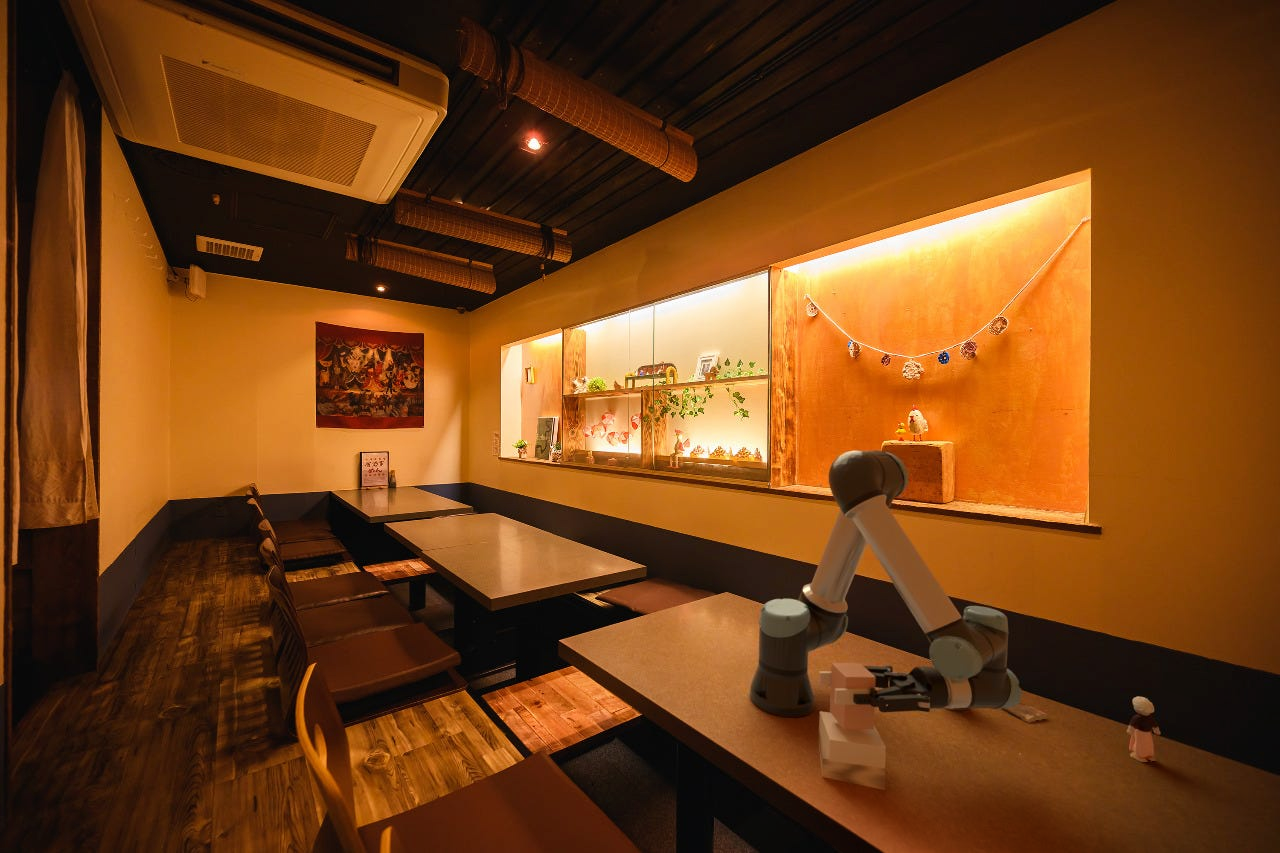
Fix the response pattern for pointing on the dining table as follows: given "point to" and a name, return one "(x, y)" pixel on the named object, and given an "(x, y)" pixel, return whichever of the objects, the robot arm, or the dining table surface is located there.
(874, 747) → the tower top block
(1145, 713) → the grandmother figurine
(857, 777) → the tower base block
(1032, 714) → the shard
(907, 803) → the dining table surface
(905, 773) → the dining table surface
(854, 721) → the tall block
